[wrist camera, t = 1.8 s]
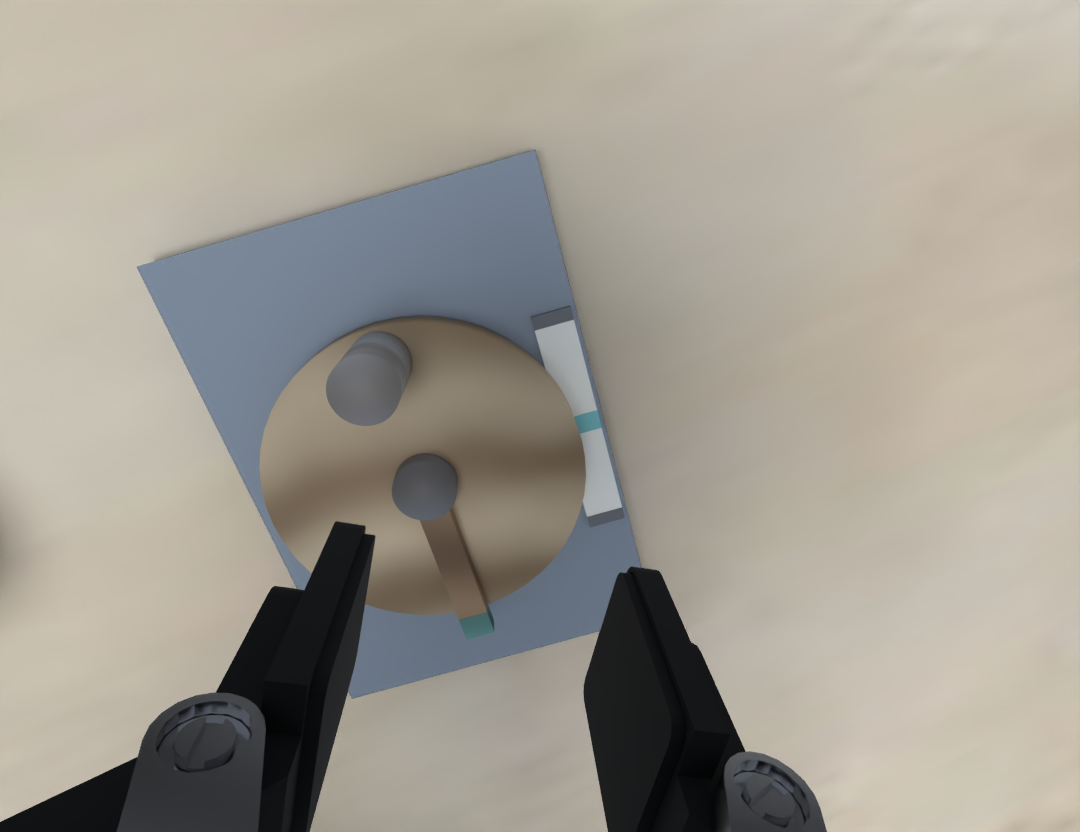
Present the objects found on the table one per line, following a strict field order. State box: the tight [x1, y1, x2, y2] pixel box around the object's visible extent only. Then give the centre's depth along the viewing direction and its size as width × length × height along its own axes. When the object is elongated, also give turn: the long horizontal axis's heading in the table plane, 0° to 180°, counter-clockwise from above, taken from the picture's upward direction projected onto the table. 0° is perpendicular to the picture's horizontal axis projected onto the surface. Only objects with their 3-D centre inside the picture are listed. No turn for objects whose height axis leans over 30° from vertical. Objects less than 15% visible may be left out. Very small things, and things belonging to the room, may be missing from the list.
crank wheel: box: [259, 316, 586, 639], centre depth 28 cm, size 15×14×6 cm
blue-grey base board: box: [137, 150, 641, 699], centre depth 31 cm, size 24×17×2 cm
